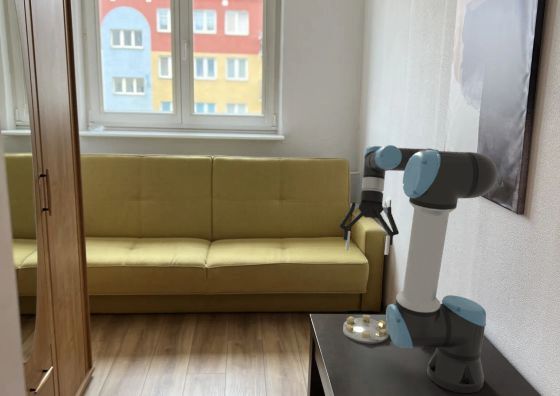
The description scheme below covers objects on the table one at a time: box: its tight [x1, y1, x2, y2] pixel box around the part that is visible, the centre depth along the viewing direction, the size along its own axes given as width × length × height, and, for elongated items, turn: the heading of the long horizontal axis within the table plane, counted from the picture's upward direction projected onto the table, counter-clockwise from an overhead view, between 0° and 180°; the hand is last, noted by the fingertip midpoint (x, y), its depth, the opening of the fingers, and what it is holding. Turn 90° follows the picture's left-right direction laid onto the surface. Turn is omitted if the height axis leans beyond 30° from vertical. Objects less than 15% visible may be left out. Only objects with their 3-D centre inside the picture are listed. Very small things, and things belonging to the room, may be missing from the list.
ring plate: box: [342, 314, 390, 345], centre depth 161 cm, size 15×15×3 cm
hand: (366, 252), depth 166 cm, fingers open, 13 cm apart
